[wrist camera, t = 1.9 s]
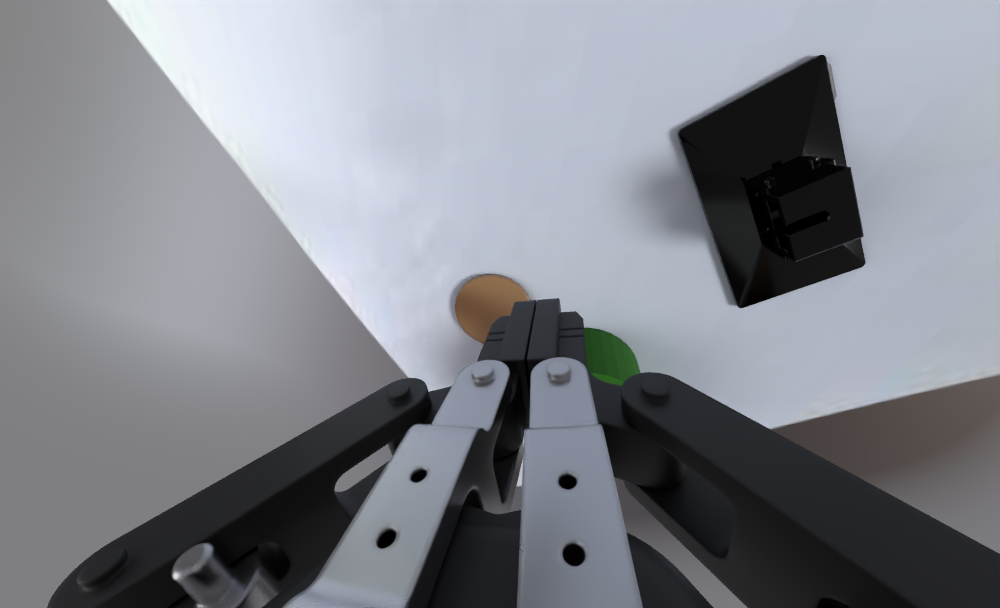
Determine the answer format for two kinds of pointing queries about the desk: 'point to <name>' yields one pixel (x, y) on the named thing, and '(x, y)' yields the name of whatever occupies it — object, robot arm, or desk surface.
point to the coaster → (486, 303)
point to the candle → (609, 357)
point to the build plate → (777, 185)
